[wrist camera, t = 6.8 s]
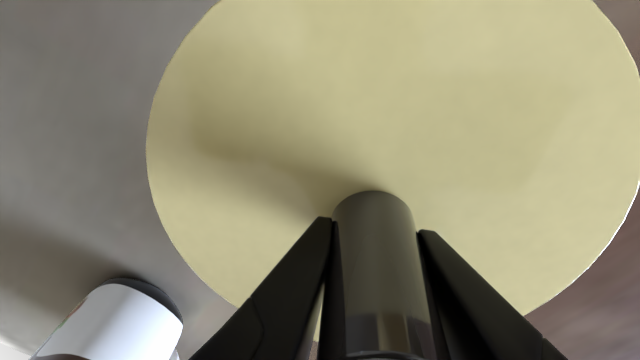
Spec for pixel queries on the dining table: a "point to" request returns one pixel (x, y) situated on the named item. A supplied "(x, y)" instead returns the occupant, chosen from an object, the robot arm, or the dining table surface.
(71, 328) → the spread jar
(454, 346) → the robot arm
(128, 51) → the dining table surface
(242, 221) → the pot lid
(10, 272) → the dining table surface
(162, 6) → the dining table surface
